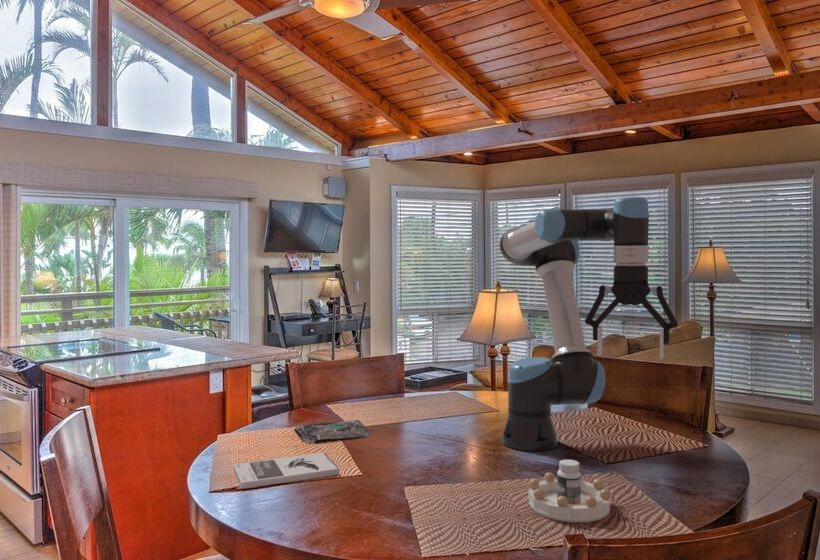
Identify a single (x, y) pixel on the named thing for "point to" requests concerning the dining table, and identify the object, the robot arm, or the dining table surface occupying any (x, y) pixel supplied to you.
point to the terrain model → (332, 431)
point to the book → (284, 470)
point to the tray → (569, 510)
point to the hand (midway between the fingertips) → (630, 356)
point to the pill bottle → (569, 481)
